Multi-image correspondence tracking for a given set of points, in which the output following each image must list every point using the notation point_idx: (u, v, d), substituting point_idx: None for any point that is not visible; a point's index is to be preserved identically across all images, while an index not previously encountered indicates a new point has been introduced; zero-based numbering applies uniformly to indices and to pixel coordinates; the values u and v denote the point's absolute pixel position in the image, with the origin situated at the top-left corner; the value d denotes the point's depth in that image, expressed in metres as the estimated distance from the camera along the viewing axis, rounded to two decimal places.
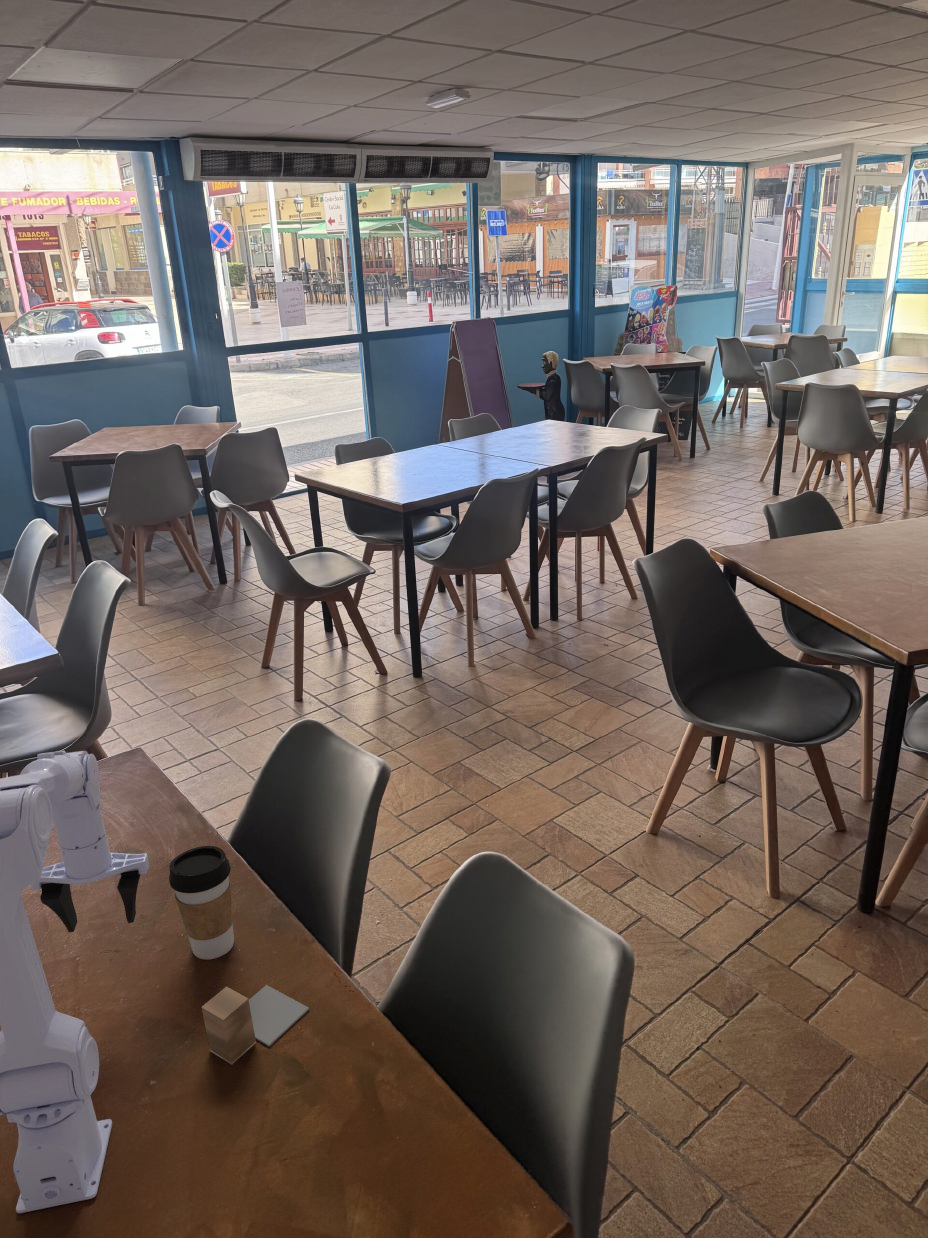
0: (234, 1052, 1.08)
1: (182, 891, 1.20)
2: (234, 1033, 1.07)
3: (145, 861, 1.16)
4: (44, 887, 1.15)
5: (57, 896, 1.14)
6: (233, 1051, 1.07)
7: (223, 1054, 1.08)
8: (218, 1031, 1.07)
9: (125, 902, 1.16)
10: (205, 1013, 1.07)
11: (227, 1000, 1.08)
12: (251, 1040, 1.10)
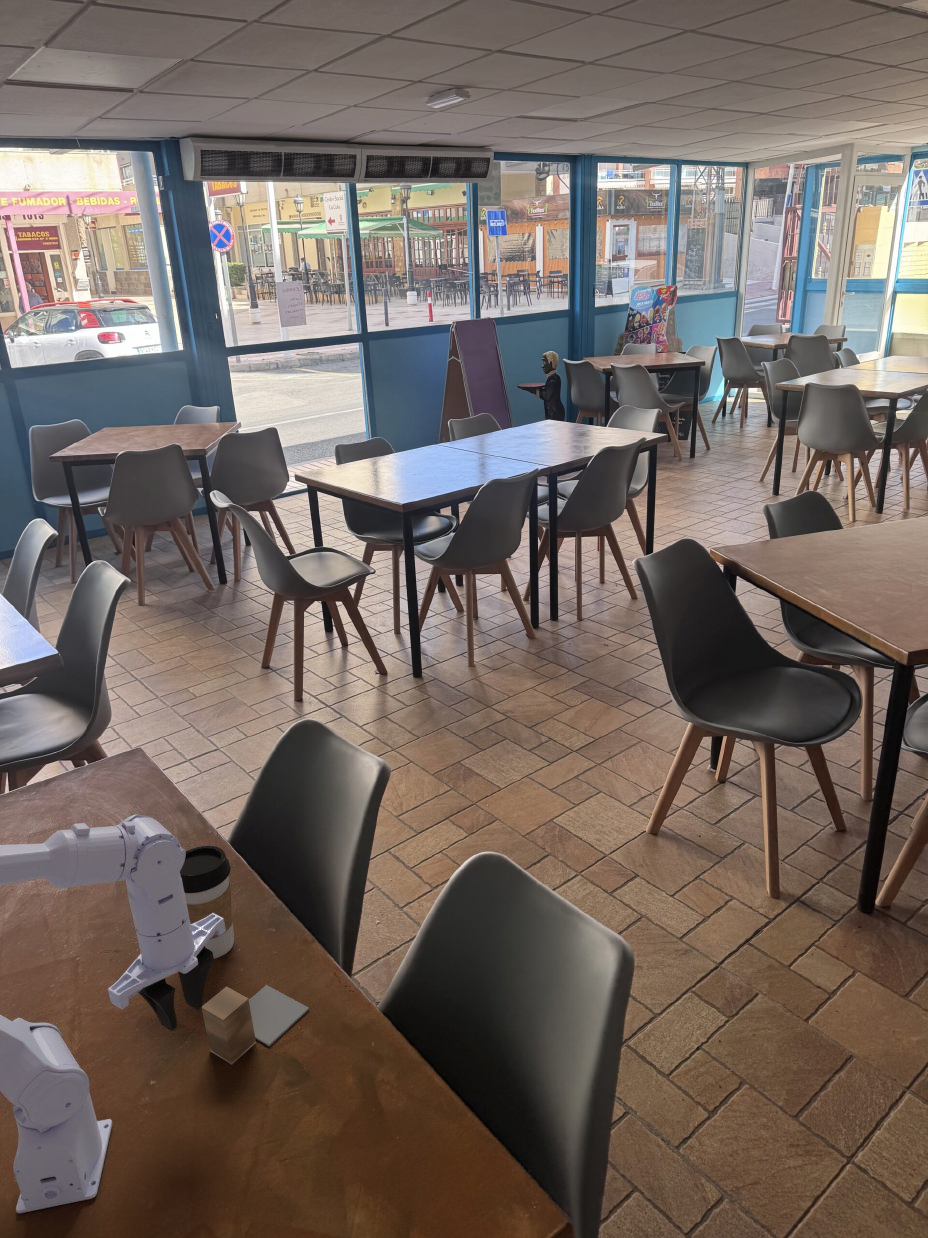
0: (234, 1052, 1.08)
1: None
2: (234, 1033, 1.07)
3: (110, 992, 0.94)
4: None
5: None
6: (233, 1051, 1.07)
7: (223, 1054, 1.08)
8: (218, 1030, 1.07)
9: None
10: (205, 1013, 1.07)
11: (227, 1000, 1.08)
12: (251, 1040, 1.10)
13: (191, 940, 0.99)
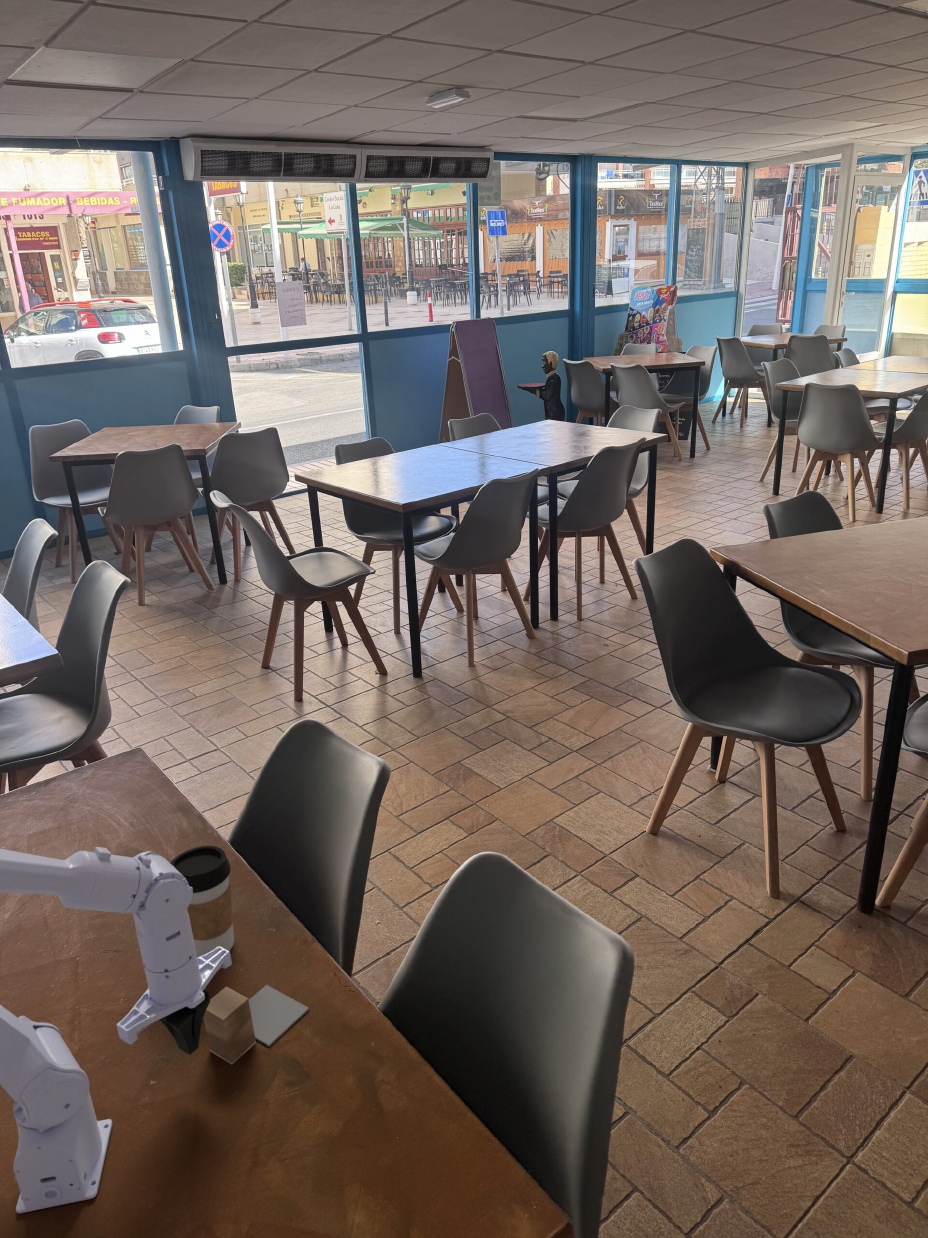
0: (234, 1052, 1.08)
1: None
2: (234, 1033, 1.07)
3: (118, 1027, 0.96)
4: None
5: None
6: (233, 1051, 1.07)
7: (223, 1054, 1.08)
8: (218, 1030, 1.07)
9: None
10: (205, 1013, 1.07)
11: (227, 1000, 1.08)
12: (251, 1040, 1.10)
13: (198, 975, 1.00)
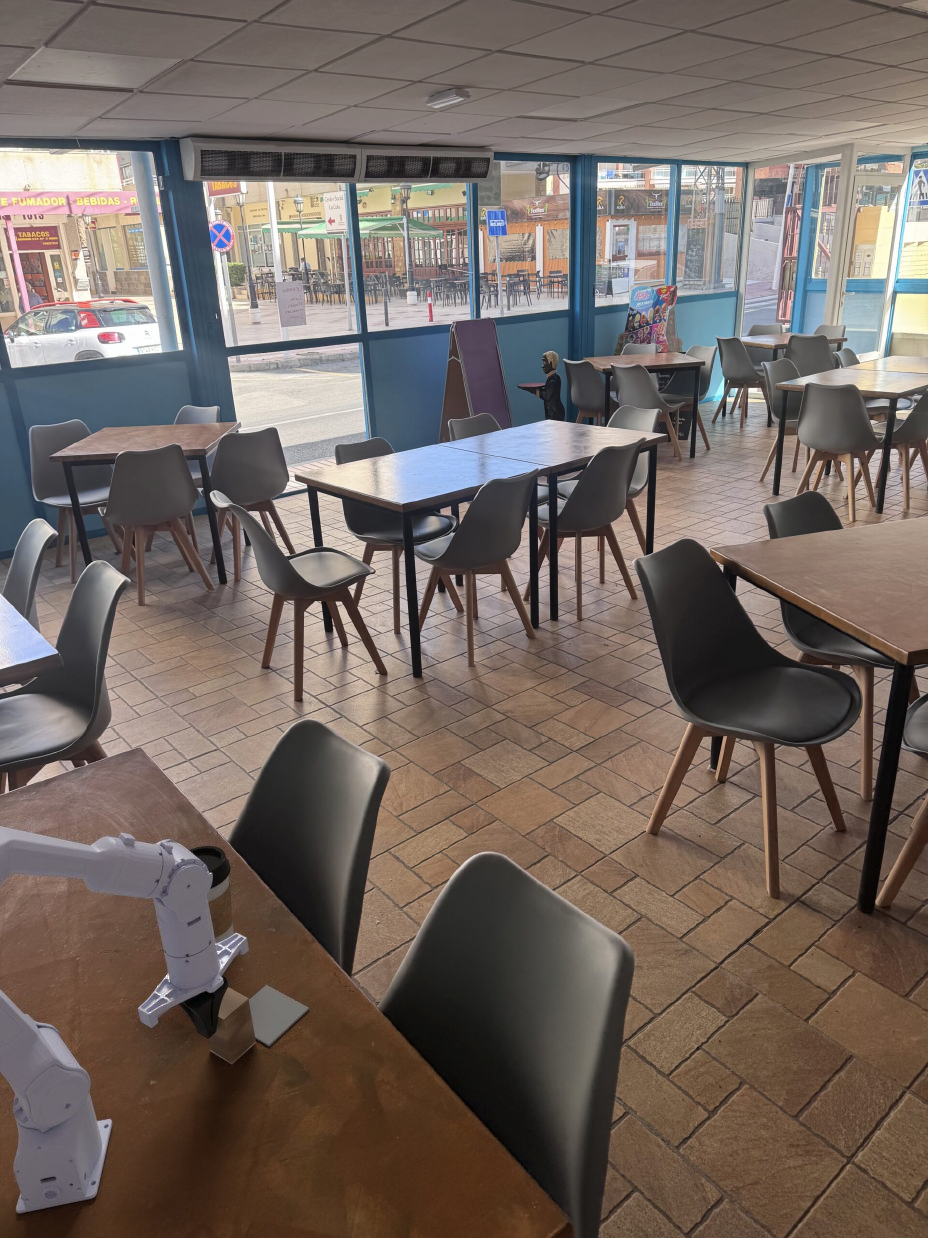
0: (234, 1052, 1.08)
1: None
2: (234, 1033, 1.07)
3: (140, 1011, 0.98)
4: None
5: None
6: (233, 1051, 1.07)
7: (223, 1054, 1.08)
8: (218, 1030, 1.07)
9: None
10: None
11: (227, 1000, 1.08)
12: (251, 1040, 1.10)
13: (217, 960, 1.02)
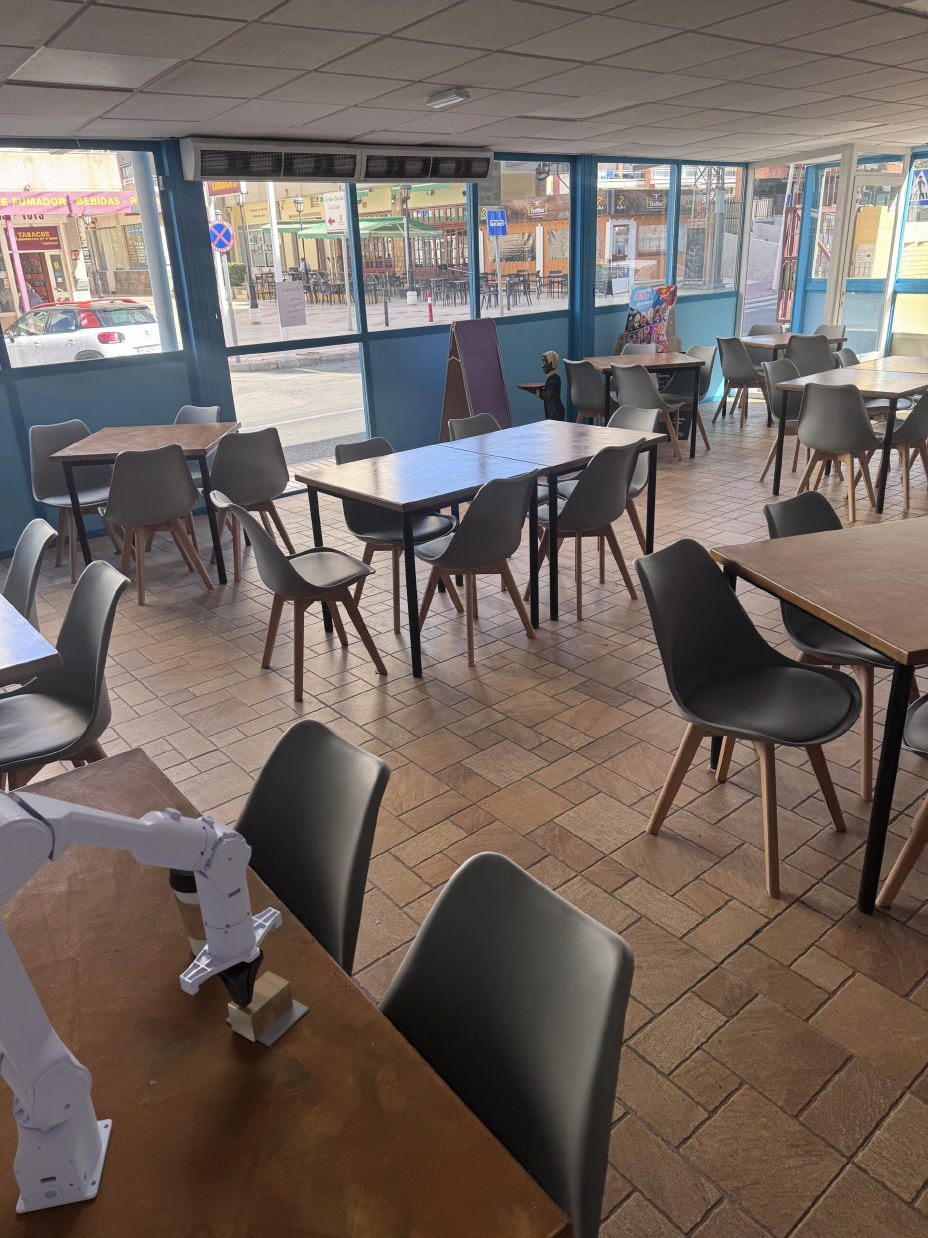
0: (258, 1014, 1.10)
1: (182, 891, 1.20)
2: (273, 1004, 1.12)
3: (181, 979, 1.02)
4: None
5: None
6: (259, 1012, 1.10)
7: (247, 1008, 1.10)
8: (268, 989, 1.13)
9: None
10: (267, 975, 1.16)
11: None
12: (258, 1033, 1.11)
13: (253, 932, 1.07)
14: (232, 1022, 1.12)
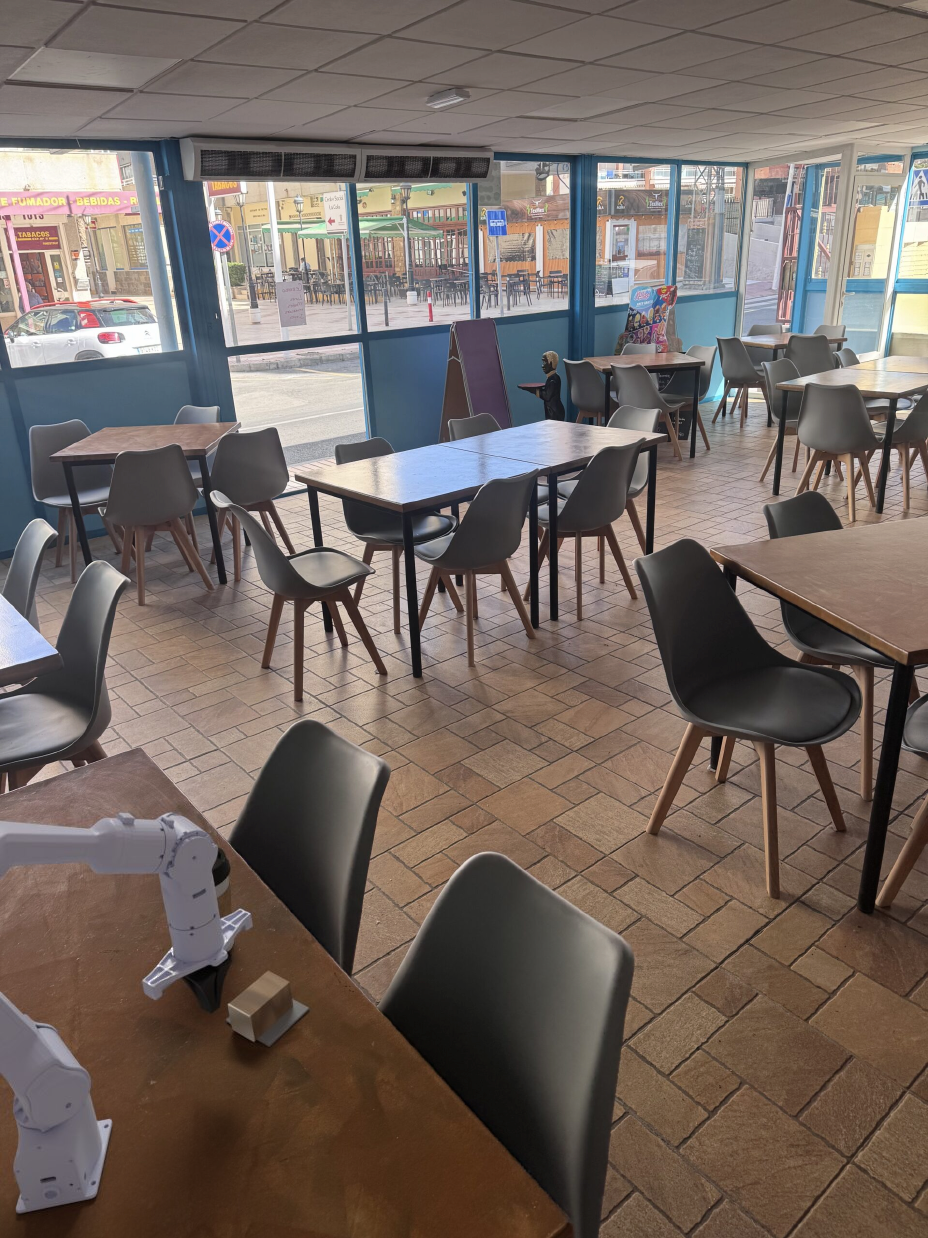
0: (258, 1014, 1.10)
1: None
2: (273, 1004, 1.12)
3: (144, 983, 0.98)
4: None
5: None
6: (259, 1012, 1.10)
7: (247, 1008, 1.10)
8: (268, 989, 1.13)
9: None
10: (267, 975, 1.16)
11: None
12: (258, 1033, 1.11)
13: (221, 934, 1.02)
14: (232, 1022, 1.12)
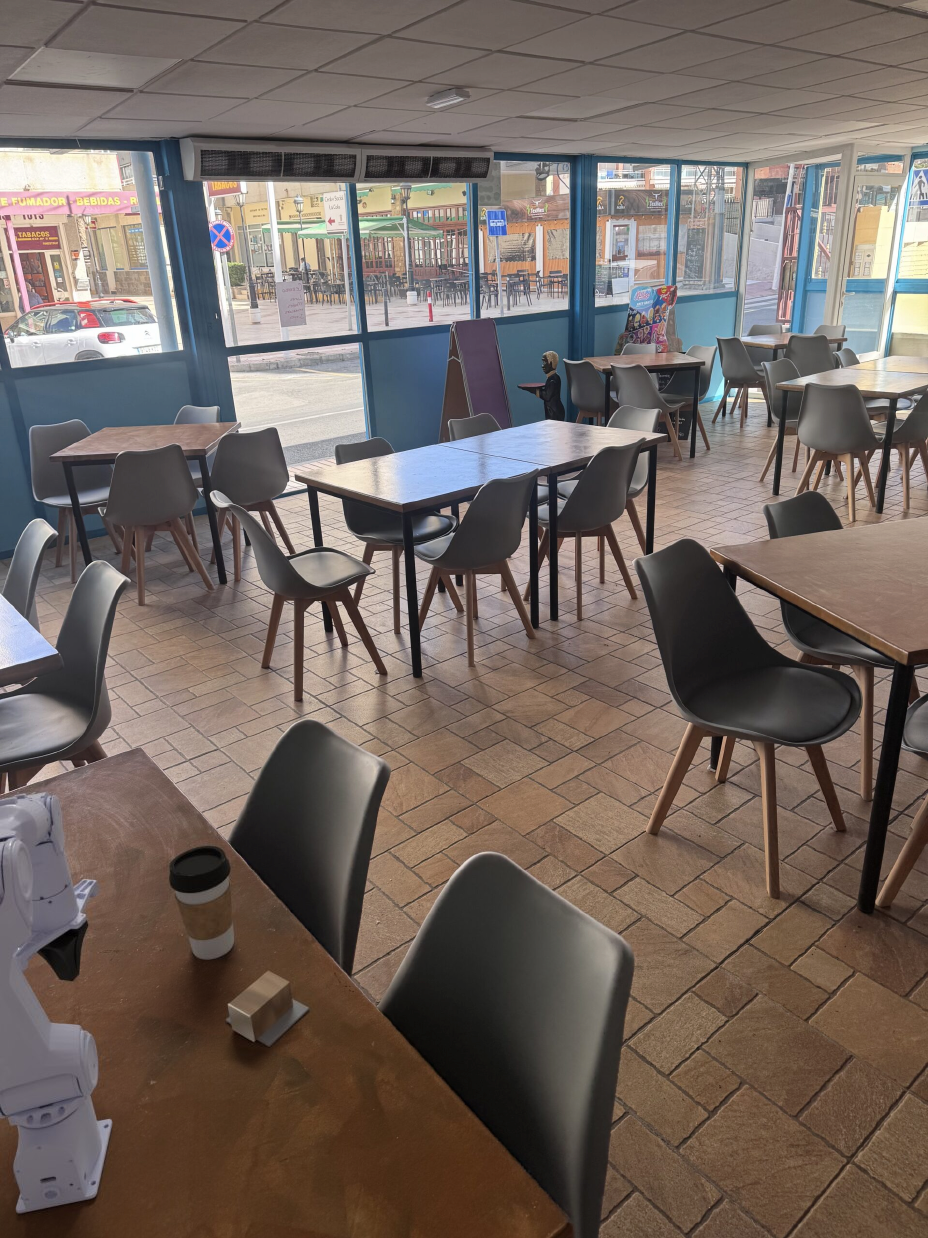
0: (258, 1014, 1.10)
1: (182, 891, 1.20)
2: (273, 1004, 1.12)
3: None
4: None
5: None
6: (259, 1012, 1.10)
7: (247, 1008, 1.10)
8: (268, 989, 1.13)
9: None
10: (267, 975, 1.16)
11: None
12: (258, 1033, 1.11)
13: (76, 900, 1.07)
14: (232, 1022, 1.12)
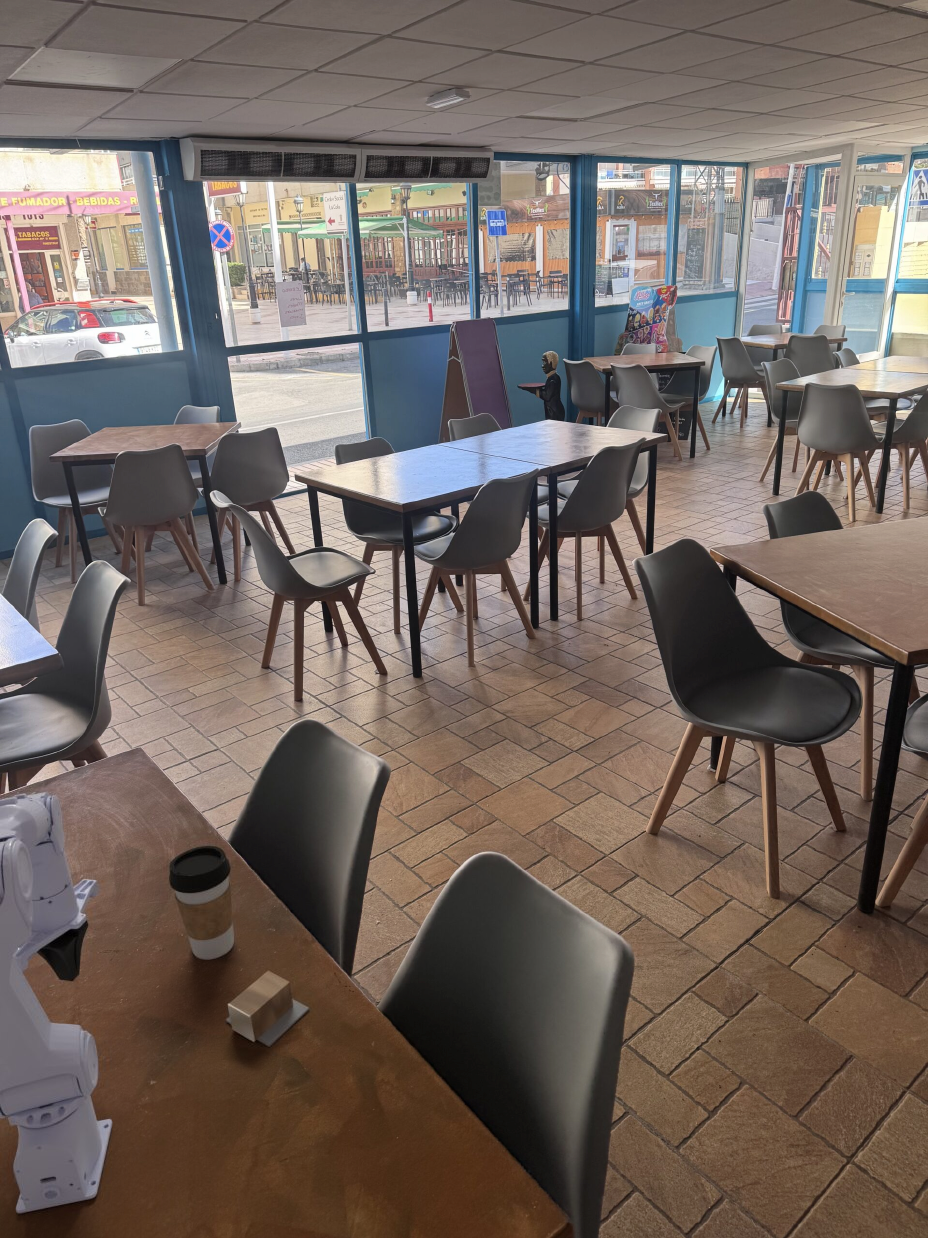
0: (258, 1014, 1.10)
1: (182, 891, 1.20)
2: (273, 1004, 1.12)
3: None
4: None
5: None
6: (259, 1012, 1.10)
7: (247, 1008, 1.10)
8: (268, 989, 1.13)
9: None
10: (267, 975, 1.16)
11: None
12: (258, 1033, 1.11)
13: (76, 900, 1.07)
14: (232, 1022, 1.12)
